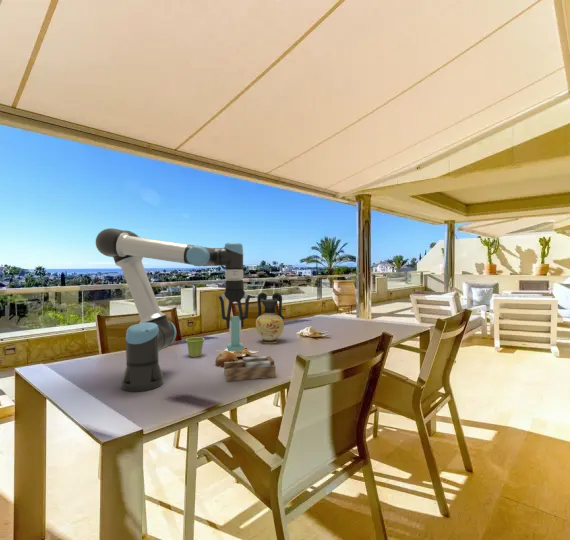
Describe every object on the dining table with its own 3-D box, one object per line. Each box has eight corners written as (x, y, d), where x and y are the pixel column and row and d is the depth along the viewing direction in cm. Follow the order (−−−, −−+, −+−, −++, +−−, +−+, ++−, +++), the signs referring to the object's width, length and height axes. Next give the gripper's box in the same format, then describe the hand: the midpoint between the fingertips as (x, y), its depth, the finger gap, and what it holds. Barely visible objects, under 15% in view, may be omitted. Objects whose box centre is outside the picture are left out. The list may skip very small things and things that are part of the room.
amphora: (283, 338, 220) (283, 291, 220) (285, 344, 203) (285, 293, 203) (255, 339, 219) (255, 291, 219) (255, 345, 202) (254, 293, 202)
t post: (228, 351, 142) (227, 318, 142) (226, 347, 148) (226, 315, 148) (244, 350, 143) (243, 317, 143) (241, 346, 150) (241, 315, 149)
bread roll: (228, 368, 170) (223, 352, 171) (243, 362, 165) (238, 346, 166) (214, 373, 161) (209, 357, 163) (230, 367, 156) (224, 350, 158)
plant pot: (207, 353, 184) (206, 337, 184) (201, 358, 174) (200, 341, 174) (190, 353, 185) (189, 337, 185) (183, 358, 175) (182, 340, 175)
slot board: (226, 381, 139) (226, 366, 139) (224, 372, 151) (224, 358, 151) (275, 377, 144) (275, 362, 144) (269, 368, 156) (269, 355, 156)
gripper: (215, 280, 140) (215, 338, 140) (255, 279, 144) (255, 336, 144) (214, 279, 147) (214, 335, 147) (252, 279, 151) (252, 332, 151)
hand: (235, 335), depth 146 cm, fingers closed on t post, 3 cm apart
